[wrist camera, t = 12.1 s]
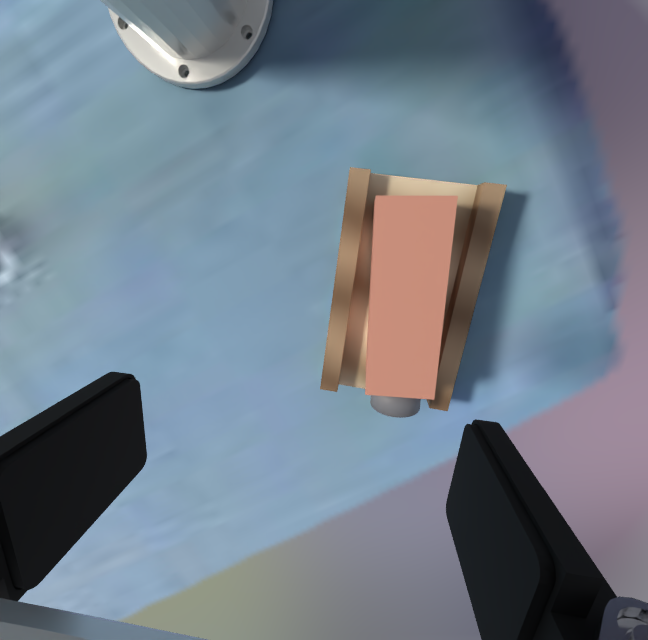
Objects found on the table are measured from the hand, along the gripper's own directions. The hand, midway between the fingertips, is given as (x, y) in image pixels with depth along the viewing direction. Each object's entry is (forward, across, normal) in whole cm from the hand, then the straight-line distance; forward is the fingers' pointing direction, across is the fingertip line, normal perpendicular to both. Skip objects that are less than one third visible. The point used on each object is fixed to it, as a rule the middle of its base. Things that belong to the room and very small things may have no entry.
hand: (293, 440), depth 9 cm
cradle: (+20, -5, 0) cm, 21 cm away
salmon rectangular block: (+19, -5, -1) cm, 20 cm away
